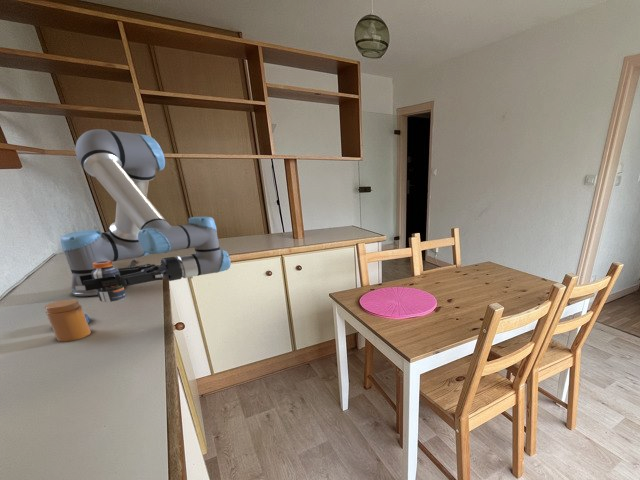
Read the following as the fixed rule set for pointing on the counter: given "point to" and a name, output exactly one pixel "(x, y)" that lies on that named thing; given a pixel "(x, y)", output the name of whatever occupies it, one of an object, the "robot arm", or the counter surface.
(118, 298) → the pill bottle
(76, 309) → the jar
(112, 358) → the counter surface
